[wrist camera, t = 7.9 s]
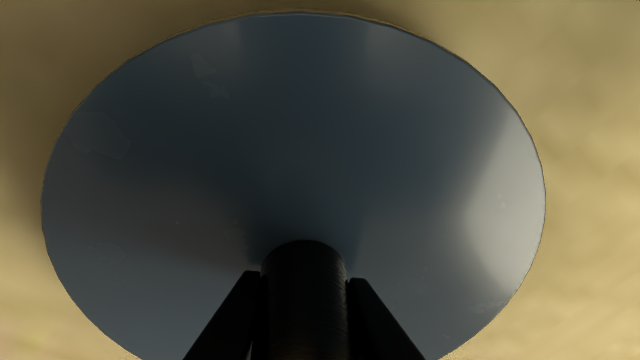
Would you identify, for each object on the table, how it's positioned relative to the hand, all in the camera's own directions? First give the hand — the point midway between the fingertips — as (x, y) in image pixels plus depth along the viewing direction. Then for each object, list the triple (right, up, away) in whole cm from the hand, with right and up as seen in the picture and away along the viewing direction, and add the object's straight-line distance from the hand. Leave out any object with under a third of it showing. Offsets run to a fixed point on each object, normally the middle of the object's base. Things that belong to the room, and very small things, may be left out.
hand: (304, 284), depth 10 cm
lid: (0, +1, +1) cm, 1 cm away
